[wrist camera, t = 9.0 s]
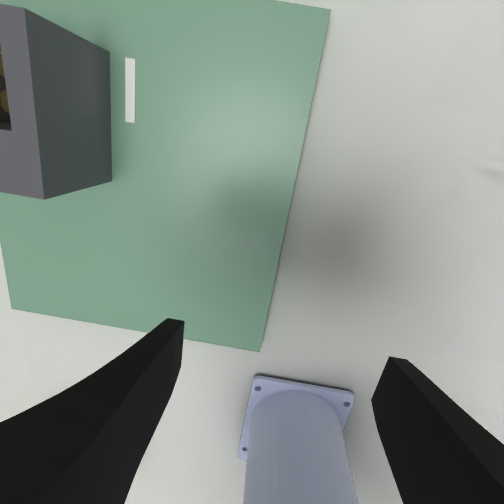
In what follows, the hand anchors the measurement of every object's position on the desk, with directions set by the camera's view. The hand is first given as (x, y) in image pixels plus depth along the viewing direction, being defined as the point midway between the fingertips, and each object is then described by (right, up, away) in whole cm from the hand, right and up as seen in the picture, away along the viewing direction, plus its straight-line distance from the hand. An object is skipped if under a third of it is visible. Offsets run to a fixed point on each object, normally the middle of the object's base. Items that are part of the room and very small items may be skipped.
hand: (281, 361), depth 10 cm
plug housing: (-11, +11, +6) cm, 17 cm away
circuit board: (-8, +8, +8) cm, 14 cm away
